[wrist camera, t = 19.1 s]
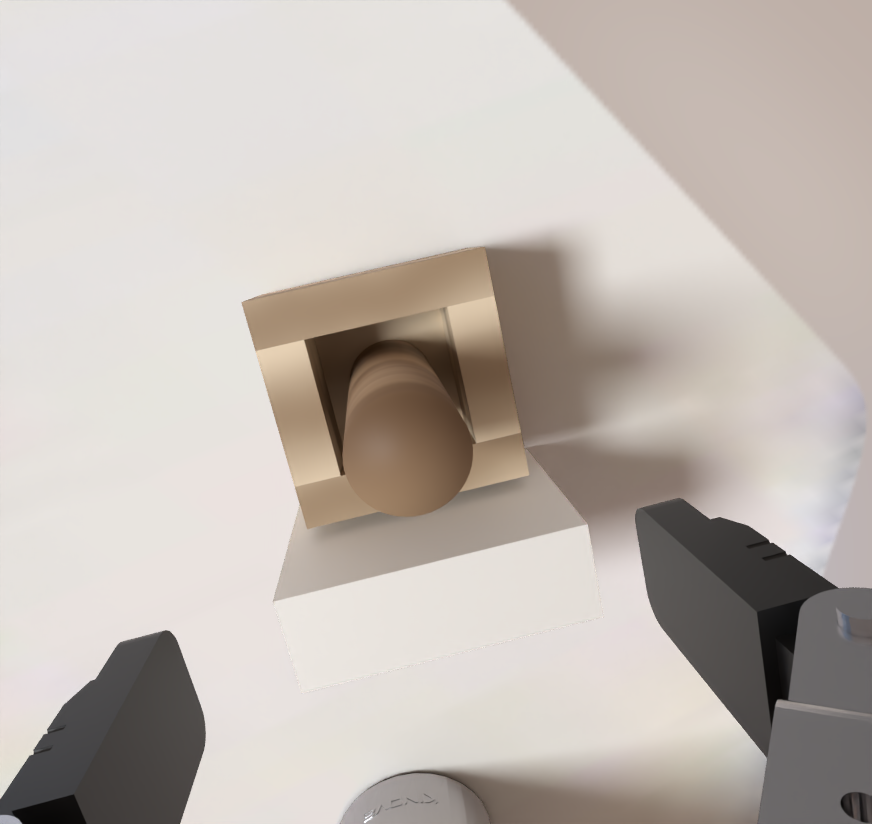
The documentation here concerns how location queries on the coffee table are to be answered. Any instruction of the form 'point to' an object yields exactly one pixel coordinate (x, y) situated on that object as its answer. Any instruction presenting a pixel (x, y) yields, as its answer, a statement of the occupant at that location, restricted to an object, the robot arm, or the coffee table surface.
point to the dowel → (403, 433)
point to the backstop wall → (434, 581)
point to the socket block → (365, 325)
